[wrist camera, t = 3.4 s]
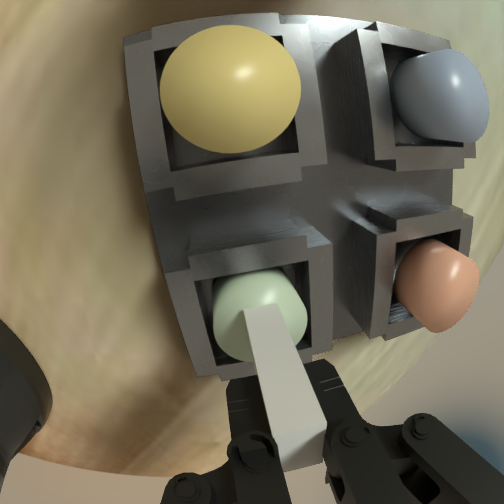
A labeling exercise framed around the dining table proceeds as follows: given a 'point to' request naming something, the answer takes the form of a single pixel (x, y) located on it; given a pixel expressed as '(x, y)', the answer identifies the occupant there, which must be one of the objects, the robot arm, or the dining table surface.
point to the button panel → (298, 185)
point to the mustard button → (230, 89)
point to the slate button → (440, 96)
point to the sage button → (253, 295)
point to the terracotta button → (436, 284)
